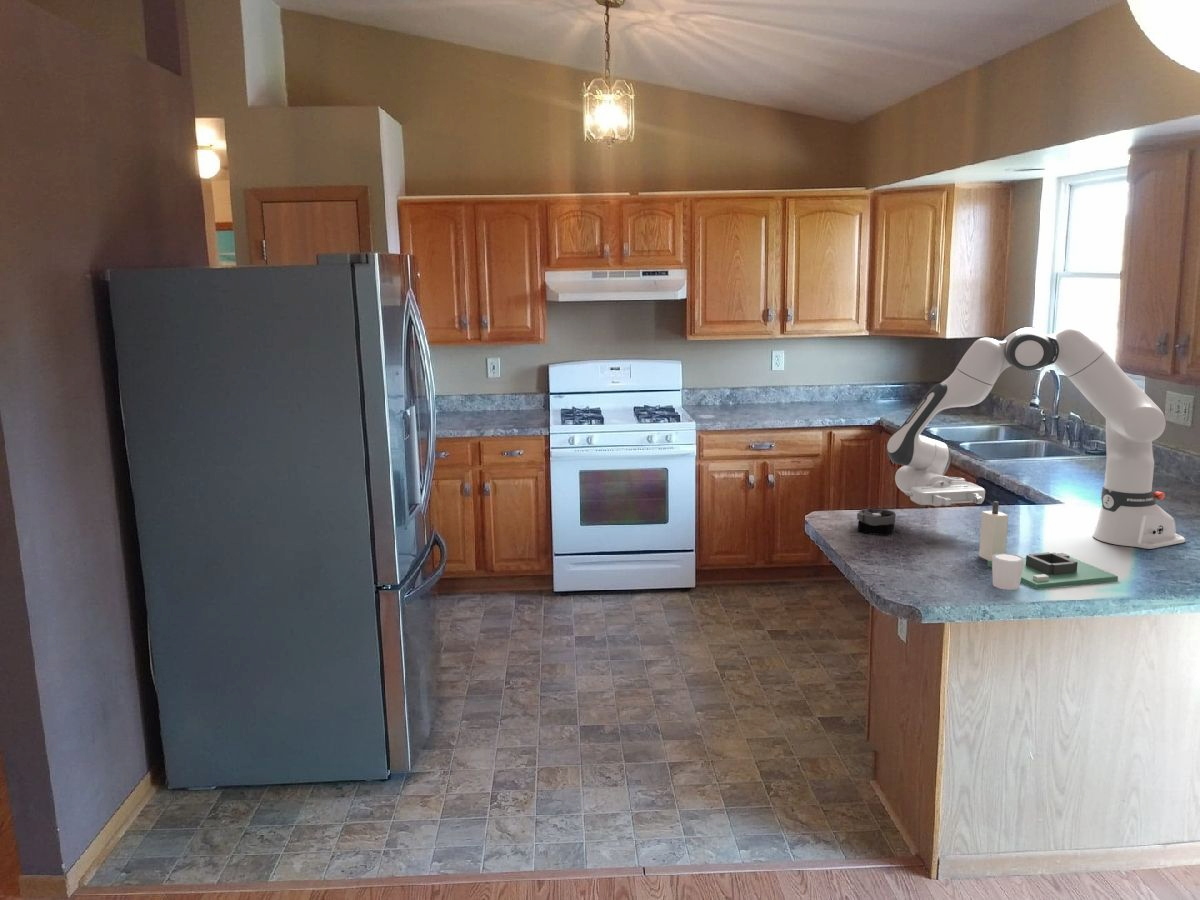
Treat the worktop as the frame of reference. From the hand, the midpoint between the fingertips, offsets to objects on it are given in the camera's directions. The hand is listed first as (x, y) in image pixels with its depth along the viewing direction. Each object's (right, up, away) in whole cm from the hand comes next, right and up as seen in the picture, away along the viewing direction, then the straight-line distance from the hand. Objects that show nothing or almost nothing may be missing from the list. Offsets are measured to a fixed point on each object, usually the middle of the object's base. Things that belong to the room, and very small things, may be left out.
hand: (964, 501), depth 236 cm
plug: (+3, -14, -10) cm, 17 cm away
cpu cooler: (-18, -10, +17) cm, 27 cm away
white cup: (-3, -18, -30) cm, 35 cm away
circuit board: (+12, -16, -22) cm, 30 cm away
